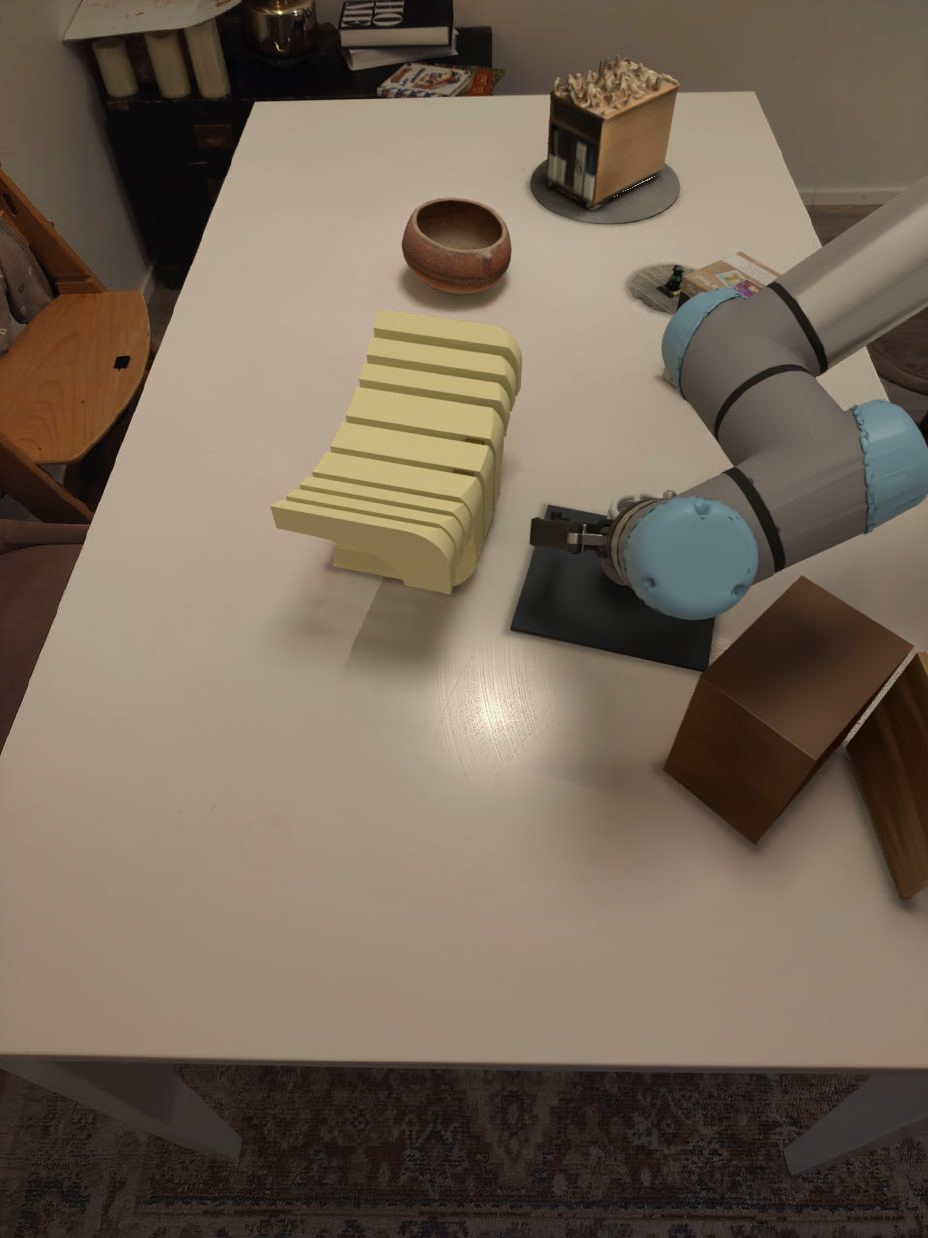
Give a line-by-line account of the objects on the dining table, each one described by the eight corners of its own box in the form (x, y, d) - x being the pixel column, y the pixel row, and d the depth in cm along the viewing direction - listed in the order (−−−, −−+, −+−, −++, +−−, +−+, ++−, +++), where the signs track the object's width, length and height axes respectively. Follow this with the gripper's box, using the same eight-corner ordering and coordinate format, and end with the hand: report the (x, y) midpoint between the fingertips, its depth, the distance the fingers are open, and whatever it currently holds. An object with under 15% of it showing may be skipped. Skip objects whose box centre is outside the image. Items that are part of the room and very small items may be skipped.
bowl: (491, 320, 117) (492, 253, 109) (389, 301, 120) (382, 234, 112) (523, 262, 126) (525, 196, 118) (426, 246, 129) (423, 180, 121)
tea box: (798, 409, 105) (839, 304, 93) (742, 440, 101) (777, 335, 89) (714, 350, 112) (742, 246, 100) (658, 377, 109) (680, 273, 97)
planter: (668, 232, 130) (693, 101, 115) (514, 212, 134) (519, 83, 119) (688, 160, 144) (712, 35, 129) (548, 143, 149) (556, 21, 134)
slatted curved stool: (453, 657, 83) (448, 538, 69) (305, 626, 85) (270, 505, 71) (517, 458, 100) (523, 329, 86) (391, 437, 103) (377, 308, 88)
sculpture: (700, 322, 116) (672, 276, 113) (647, 345, 123) (619, 302, 119) (723, 274, 122) (697, 228, 118) (671, 298, 129) (645, 256, 125)
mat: (724, 541, 92) (725, 538, 91) (706, 673, 81) (708, 670, 81) (547, 507, 95) (548, 504, 95) (510, 630, 85) (510, 626, 84)
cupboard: (841, 743, 77) (914, 645, 64) (755, 845, 71) (816, 761, 58) (750, 678, 81) (801, 574, 68) (662, 769, 75) (699, 675, 62)
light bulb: (612, 553, 90) (627, 472, 80) (658, 575, 88) (680, 495, 78) (585, 586, 87) (598, 506, 78) (632, 610, 85) (652, 531, 76)
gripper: (829, 508, 63) (755, 505, 84) (502, 488, 65) (510, 490, 86) (816, 605, 64) (747, 578, 85) (496, 583, 66) (505, 562, 87)
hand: (628, 534), depth 85 cm, fingers open, 13 cm apart
